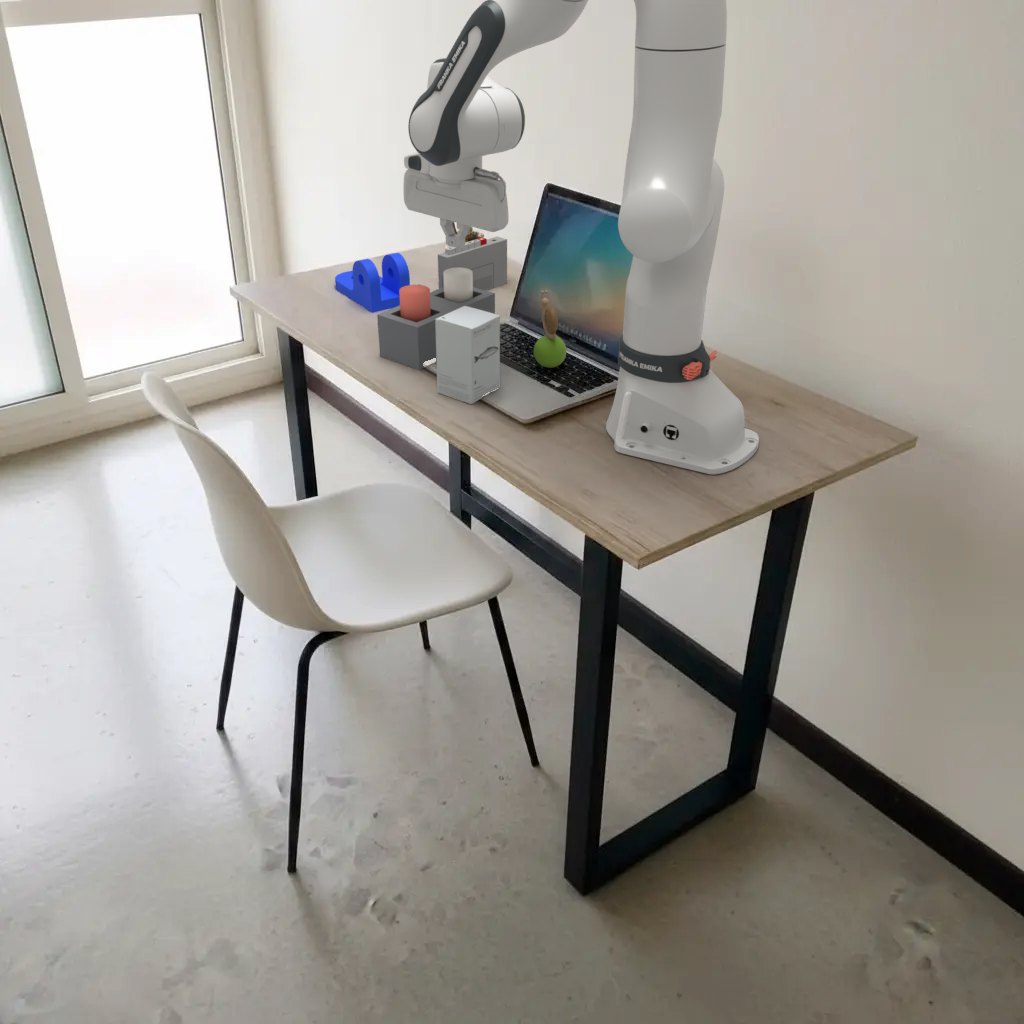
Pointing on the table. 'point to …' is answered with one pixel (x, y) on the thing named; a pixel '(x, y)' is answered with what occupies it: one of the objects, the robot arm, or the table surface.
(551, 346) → the snail figurine
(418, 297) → the red plug
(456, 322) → the supplement box
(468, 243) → the cassette player
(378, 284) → the bracket
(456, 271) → the plug
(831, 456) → the table surface
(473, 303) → the block
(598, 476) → the table surface
